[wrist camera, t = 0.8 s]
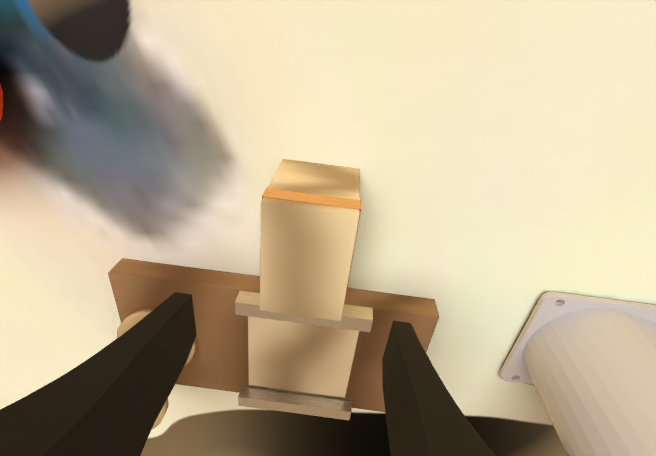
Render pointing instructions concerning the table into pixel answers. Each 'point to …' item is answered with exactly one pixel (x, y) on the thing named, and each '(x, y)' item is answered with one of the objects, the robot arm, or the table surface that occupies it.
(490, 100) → the table surface
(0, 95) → the clementine
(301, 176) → the block
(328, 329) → the brown rectangular board
